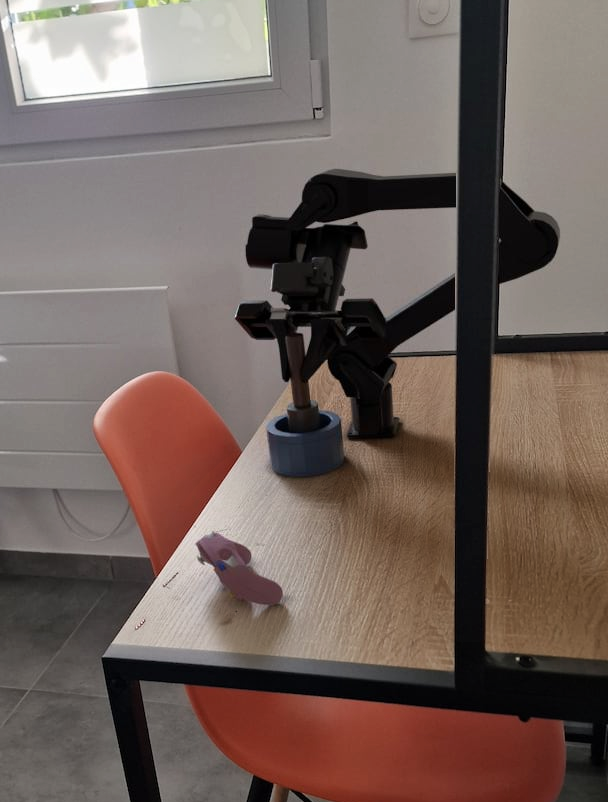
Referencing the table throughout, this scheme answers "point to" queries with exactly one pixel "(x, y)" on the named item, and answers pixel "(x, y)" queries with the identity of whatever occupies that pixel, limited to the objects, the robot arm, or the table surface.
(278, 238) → the robot arm
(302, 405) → the brown peg with base
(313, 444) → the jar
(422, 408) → the table surface
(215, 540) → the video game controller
